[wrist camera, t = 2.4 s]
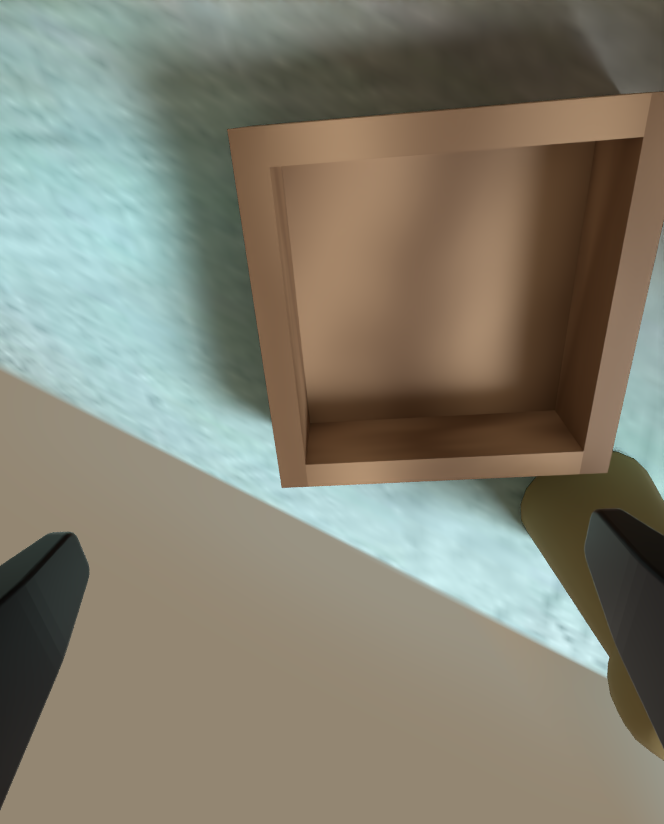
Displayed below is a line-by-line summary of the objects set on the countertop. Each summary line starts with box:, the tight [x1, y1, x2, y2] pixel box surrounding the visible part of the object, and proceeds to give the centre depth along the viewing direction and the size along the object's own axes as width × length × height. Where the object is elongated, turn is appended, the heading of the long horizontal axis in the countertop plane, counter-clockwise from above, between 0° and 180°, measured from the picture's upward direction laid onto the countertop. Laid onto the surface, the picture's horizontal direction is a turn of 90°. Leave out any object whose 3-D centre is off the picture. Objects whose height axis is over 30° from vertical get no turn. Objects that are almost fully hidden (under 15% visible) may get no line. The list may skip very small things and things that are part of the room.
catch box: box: [227, 91, 664, 488], centre depth 18 cm, size 12×12×4 cm
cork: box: [521, 452, 664, 761], centre depth 20 cm, size 6×6×11 cm
